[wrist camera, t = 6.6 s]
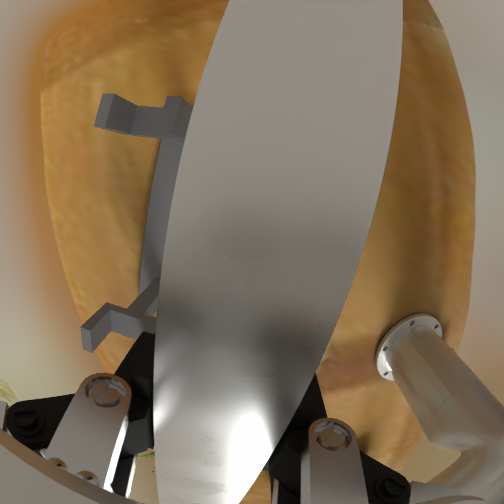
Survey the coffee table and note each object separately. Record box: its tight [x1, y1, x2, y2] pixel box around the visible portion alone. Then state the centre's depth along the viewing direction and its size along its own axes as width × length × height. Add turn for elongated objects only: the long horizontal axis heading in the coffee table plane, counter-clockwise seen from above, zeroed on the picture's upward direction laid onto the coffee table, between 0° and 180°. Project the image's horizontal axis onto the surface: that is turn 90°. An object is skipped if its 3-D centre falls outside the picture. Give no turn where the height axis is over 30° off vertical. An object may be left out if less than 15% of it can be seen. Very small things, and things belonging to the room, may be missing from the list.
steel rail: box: [153, 0, 403, 504], centre depth 7 cm, size 3×24×3 cm, turn 167°
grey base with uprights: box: [81, 94, 193, 353], centre depth 24 cm, size 6×24×16 cm, turn 167°
